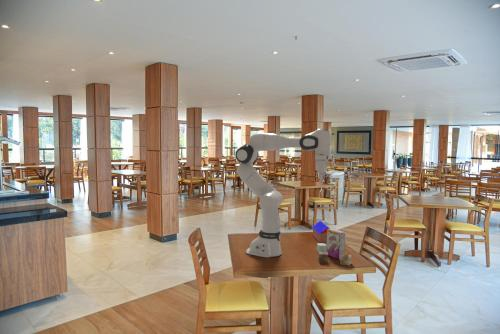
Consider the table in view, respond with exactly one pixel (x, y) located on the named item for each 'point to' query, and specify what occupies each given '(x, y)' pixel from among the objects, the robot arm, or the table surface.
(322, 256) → the walnut cube
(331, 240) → the candy bar box
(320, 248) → the sage cube
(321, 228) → the house
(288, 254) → the table surface
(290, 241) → the table surface
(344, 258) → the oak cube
